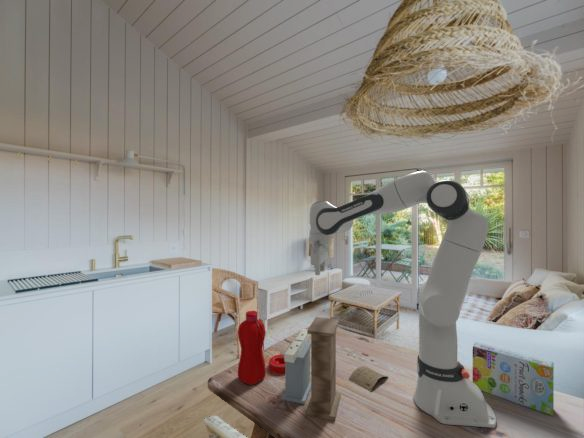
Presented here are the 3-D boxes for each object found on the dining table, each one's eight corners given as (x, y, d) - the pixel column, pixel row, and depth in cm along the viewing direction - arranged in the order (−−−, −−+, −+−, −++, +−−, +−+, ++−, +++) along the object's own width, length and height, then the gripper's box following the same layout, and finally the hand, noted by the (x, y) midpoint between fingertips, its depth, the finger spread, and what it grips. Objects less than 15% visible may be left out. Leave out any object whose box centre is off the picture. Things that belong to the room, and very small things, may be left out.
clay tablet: (370, 394, 97) (370, 386, 97) (345, 382, 104) (345, 374, 104) (390, 377, 107) (390, 370, 107) (366, 367, 114) (366, 360, 114)
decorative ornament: (296, 364, 116) (296, 357, 116) (286, 376, 107) (286, 368, 107) (276, 359, 120) (276, 352, 120) (264, 370, 111) (264, 362, 111)
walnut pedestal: (340, 396, 95) (340, 319, 95) (335, 421, 83) (335, 333, 83) (314, 391, 98) (314, 316, 97) (305, 414, 86) (305, 330, 86)
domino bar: (310, 335, 108) (310, 329, 108) (293, 362, 88) (293, 354, 88) (302, 334, 109) (302, 328, 109) (284, 361, 89) (284, 353, 89)
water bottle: (254, 390, 98) (253, 319, 98) (234, 379, 105) (234, 312, 105) (272, 379, 105) (272, 312, 105) (252, 368, 112) (252, 306, 112)
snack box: (553, 408, 89) (553, 360, 89) (553, 417, 85) (553, 367, 85) (475, 381, 104) (475, 340, 104) (471, 388, 100) (471, 345, 100)
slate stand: (313, 383, 102) (313, 342, 102) (304, 404, 91) (304, 358, 91) (292, 379, 105) (292, 339, 105) (281, 399, 93) (281, 354, 93)
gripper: (322, 242, 108) (322, 278, 108) (331, 238, 127) (331, 268, 127) (306, 241, 110) (306, 277, 110) (317, 238, 129) (317, 268, 129)
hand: (320, 272), depth 119 cm, fingers open, 8 cm apart
